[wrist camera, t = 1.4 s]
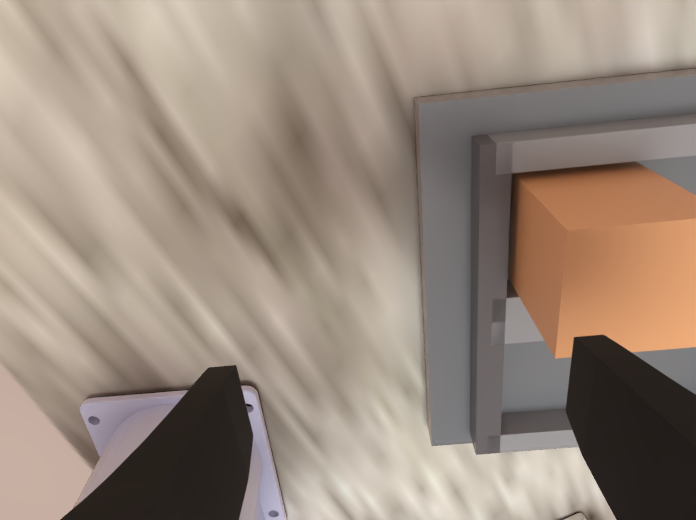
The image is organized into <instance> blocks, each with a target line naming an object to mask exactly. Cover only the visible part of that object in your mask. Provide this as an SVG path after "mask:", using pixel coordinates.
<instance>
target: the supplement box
mask: <svg viewBox="0 0 696 520" xmlns="http://www.w3.org/2000/svg"><path fill="white" fill-rule="evenodd" d="M564 520H587V519H586V518H585V516H584V515H583V514H582V513H577V514H575V515H573V516H571V517H568V518H566V519H564Z"/></svg>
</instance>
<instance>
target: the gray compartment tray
mask: <svg viewBox="0 0 696 520" xmlns="http://www.w3.org/2000/svg"><path fill="white" fill-rule="evenodd" d="M414 107H415V130H416V154H417V178H418V202H419V225H420V249H421V273H422V297H423V320H424V344H425V368H426V392H427V415H428V429H429V434H430V440H431V445H432V446H439V445H452V444H465V443H473V446H474V449H475V453H476V454H490V453H503V452H517V451H530V450H543V449H557V448H570V447H579V446H578V443H577V441H576V438H575V436H574V433H573V430H572V428H571V425H570V422H569V419H568V417H567V414H566V402H567V393H568V384H569V375H570V367H571V358H572V357H569V358H557V359H555V358H554V356H553V354H552V352H551V351H550V349H549V347H548V346H547V344H546V342H545V340H544V339H543V337H542V335H541V334H540V332H539V330H538V328H537V327H536V325H535V323H534V321H533V320H532V318H531V316H530V315H529V313H528V311H527V309H526V308H525V306H524V304H523V303H522V301H521V299H520V297H519V296H518V294H517V292H516V290H515V289H514V287H513V285H512V284H511V282H510V280H509V278H508V270H509V247H510V223H511V200H512V177H513V173H520V172H530V171H541V170H551V169H561V168H572V167H582V166H592V165H602V164H613V163H623V162H633V161H636V162H637V163H639V164H641V165H643V166H644V167H646V168H648V169H650V170H652V171H653V172H655V173H657V174H659V175H661V176H662V177H664V178H666V179H668V180H669V181H671V182H673V183H675V184H677V185H678V186H680V187H682V188H684V189H685V190H687V191H689V192H691V193H693V194H694V195H696V68H693V69H683V70H674V71H664V72H655V73H645V74H635V75H626V76H616V77H607V78H597V79H588V80H578V81H568V82H559V83H549V84H540V85H530V86H520V87H511V88H501V89H492V90H482V91H472V92H463V93H453V94H444V95H434V96H424V97H415V98H414ZM632 353H633V354H635V355H636V356H638V357H639V358H641V359H642V360H644V361H645V362H647V363H648V364H650V365H651V366H653V367H654V368H656V369H657V370H659V371H660V372H662V373H663V374H665V375H666V376H668V377H669V378H671V379H672V380H674V381H675V382H677V383H678V384H680V385H682V386H683V387H685V388H686V389H688V390H689V391H691V392H692V393H694V394H696V347H691V348H679V349H667V350H654V351H642V352H632Z"/></svg>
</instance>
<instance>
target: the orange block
mask: <svg viewBox="0 0 696 520" xmlns="http://www.w3.org/2000/svg"><path fill="white" fill-rule="evenodd" d="M508 278H509V280H510V282H511V284H512V285H513V287H514V289H515V290H516V292H517V294H518V296H519V297H520V299H521V301H522V303H523V304H524V306H525V308H526V309H527V311H528V313H529V315H530V316H531V318H532V320H533V321H534V323H535V325H536V327H537V328H538V330H539V332H540V334H541V335H542V337H543V339H544V340H545V342H546V344H547V346H548V347H549V349H550V351H551V352H552V354H553V356H554V358H555V359H557V358H569V357H572V349H573V340H574V337H581V336H592V335H605V336H607V337H608V338H610V339H612V340H613V341H615V342H616V343H618V344H619V345H621V346H623V347H624V348H626V349H627V350H629V351H630V352H642V351H654V350H667V349H679V348H691V347H696V195H694V194H693V193H691V192H689V191H687V190H685V189H684V188H682V187H680V186H678V185H677V184H675V183H673V182H671V181H669V180H668V179H666V178H664V177H662V176H661V175H659V174H657V173H655V172H653V171H652V170H650V169H648V168H646V167H644V166H643V165H641V164H639V163H637V162H636V161H633V162H623V163H613V164H602V165H592V166H582V167H572V168H561V169H551V170H541V171H530V172H520V173H513V177H512V200H511V223H510V247H509V270H508Z"/></svg>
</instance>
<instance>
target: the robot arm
mask: <svg viewBox="0 0 696 520" xmlns="http://www.w3.org/2000/svg"><path fill="white" fill-rule="evenodd" d="M246 404H250V405H252V406H251V407H249V406H246ZM80 413H81V416H82V418H83V420H84V423H85V425H86V427H87V429H88V432H89V434H90V436H91V439H92V441H93V443H94V445H95V448H96V450H97V452H98V455H99V457H100V459H99V461H98V463H97V464H96V466H95V468H94V470H93V472H92V474H91V476H90V478H89V480H88V482H87V483H86V485H85V487H84V489H83V491H82V492H81V494H80V496H79V498H78V500H77V502H76V504H75V506H74V507H73V509H72V510H71V511H70V512H69V513H68V514H67V515H65V516H64V517H63V518H62V519H61V520H287V517H286V513H285V509H284V504H283V500H282V496H281V491H280V487H279V483H278V478H277V474H276V470H275V465H274V461H273V457H272V452H271V448H270V444H269V439H268V435H267V431H266V426H265V422H264V417H263V413H262V409H261V404H260V400H259V396H258V392H257V390H256V389H255V388H253V387H251V386H241V383H240V379H239V375H238V371H237V367H236V365H234V366H222V367H210V368H208V369H207V370H206V371H205V372H204V373H203V374H202V375H201V377H200V378H199V379H198V380H197V381H196V382H195V383H194V385H193V386H192V387H191V388H190V389H189V390H184V391H171V392H159V393H147V394H135V395H123V396H110V397H98V398H89V399H86V400H85V401H84V402H83V403H82V405H81V406H80ZM566 414H567V417H568V419H569V422H570V425H571V428H572V430H573V433H574V436H575V438H576V441H577V443H578V446H579V448H580V451H581V453H582V456H583V458H584V460H585V461H586V463H587V465H588V467H589V469H590V471H591V473H592V475H593V477H594V479H595V480H596V482H597V484H598V486H599V488H600V490H601V492H602V494H603V495H604V497H605V499H606V501H607V503H608V505H609V506H610V508H611V510H612V512H613V514H614V516H615V518H616V519H617V520H696V394H694V393H692V392H691V391H689V390H688V389H686V388H685V387H683V386H682V385H680V384H678V383H677V382H675V381H674V380H672V379H671V378H669V377H668V376H666V375H665V374H663V373H662V372H660V371H659V370H657V369H656V368H654V367H653V366H651V365H650V364H648V363H647V362H645V361H644V360H642V359H641V358H639V357H638V356H636V355H635V354H633V353H632V352H630V351H629V350H627V349H626V348H624V347H623V346H621V345H619V344H618V343H616V342H615V341H613V340H612V339H610V338H608V337H607V336H605V335H592V336H581V337H574V340H573V349H572V358H571V367H570V375H569V384H568V393H567V402H566ZM93 416H95V417H97V418H95V417H93ZM98 418H99V419H98Z"/></svg>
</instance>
